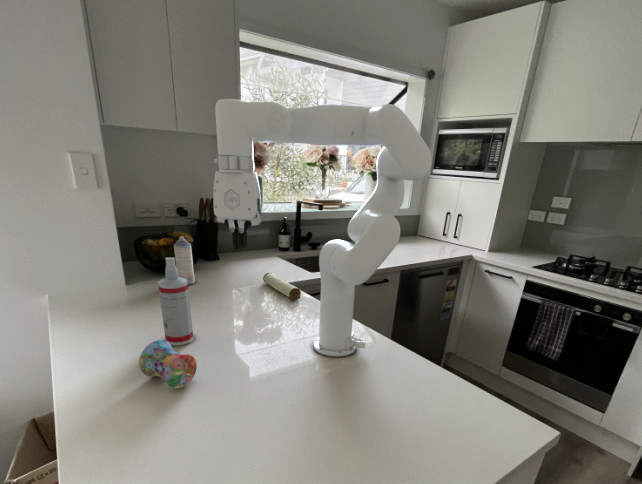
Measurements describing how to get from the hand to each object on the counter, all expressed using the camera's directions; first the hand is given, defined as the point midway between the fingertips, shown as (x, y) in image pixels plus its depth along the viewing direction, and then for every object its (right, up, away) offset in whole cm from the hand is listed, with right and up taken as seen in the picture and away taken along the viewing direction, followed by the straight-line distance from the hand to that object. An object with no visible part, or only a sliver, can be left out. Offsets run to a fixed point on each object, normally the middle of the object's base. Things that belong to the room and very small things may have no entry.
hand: (240, 248), depth 89 cm
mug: (-12, -30, 0) cm, 32 cm away
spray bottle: (-23, -23, +24) cm, 41 cm away
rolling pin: (+2, -5, +69) cm, 70 cm away
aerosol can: (-40, 0, +75) cm, 85 cm away
